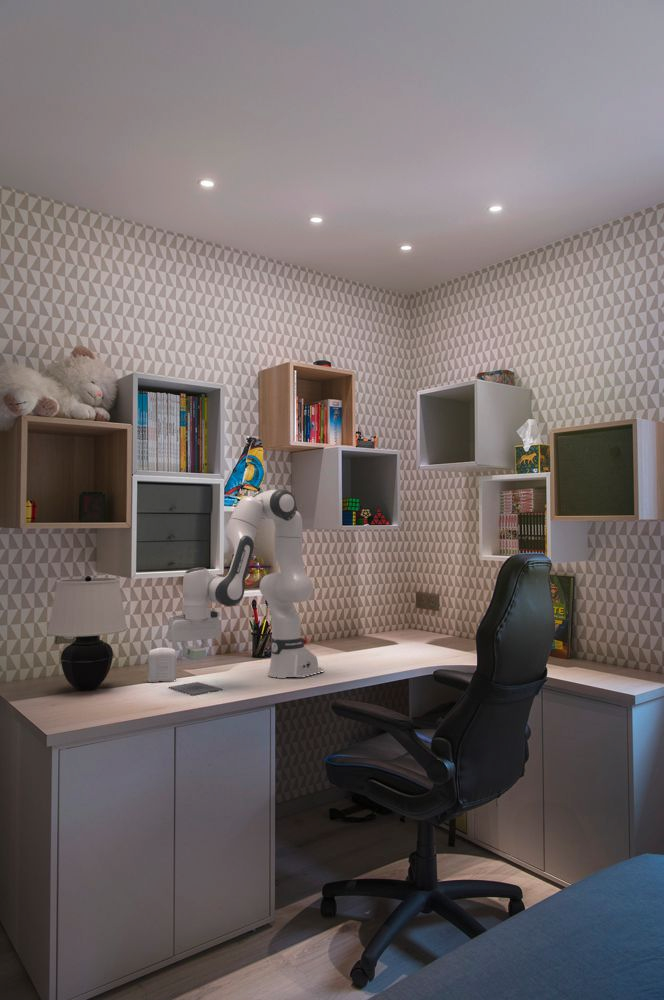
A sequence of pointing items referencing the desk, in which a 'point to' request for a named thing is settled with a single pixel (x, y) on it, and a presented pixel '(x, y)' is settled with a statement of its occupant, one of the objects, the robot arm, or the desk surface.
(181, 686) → the desk mat
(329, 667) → the desk surface
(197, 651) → the card box
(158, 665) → the white upright rounded block
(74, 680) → the table lamp
